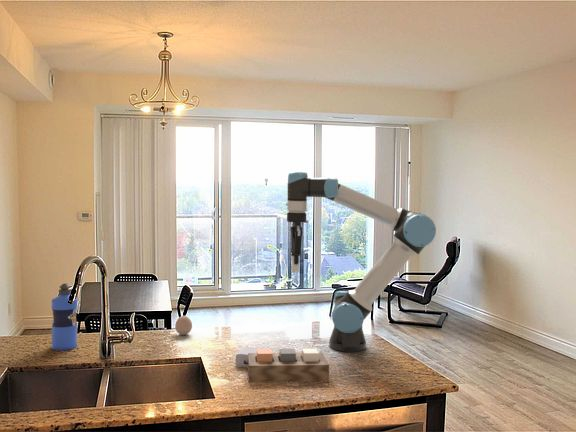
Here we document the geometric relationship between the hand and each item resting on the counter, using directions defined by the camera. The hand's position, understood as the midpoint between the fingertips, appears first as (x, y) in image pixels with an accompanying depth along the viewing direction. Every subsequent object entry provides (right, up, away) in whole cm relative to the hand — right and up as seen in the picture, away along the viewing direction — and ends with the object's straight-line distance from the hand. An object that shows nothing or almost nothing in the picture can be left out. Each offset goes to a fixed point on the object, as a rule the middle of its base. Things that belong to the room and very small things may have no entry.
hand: (295, 272), depth 202 cm
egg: (-48, -30, +22) cm, 61 cm away
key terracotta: (-11, -31, -23) cm, 40 cm away
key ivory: (+5, -31, -21) cm, 38 cm away
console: (-3, -33, -22) cm, 40 cm away
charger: (-16, -33, -8) cm, 37 cm away
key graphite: (-3, -31, -22) cm, 38 cm away
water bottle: (-91, -30, +1) cm, 96 cm away
